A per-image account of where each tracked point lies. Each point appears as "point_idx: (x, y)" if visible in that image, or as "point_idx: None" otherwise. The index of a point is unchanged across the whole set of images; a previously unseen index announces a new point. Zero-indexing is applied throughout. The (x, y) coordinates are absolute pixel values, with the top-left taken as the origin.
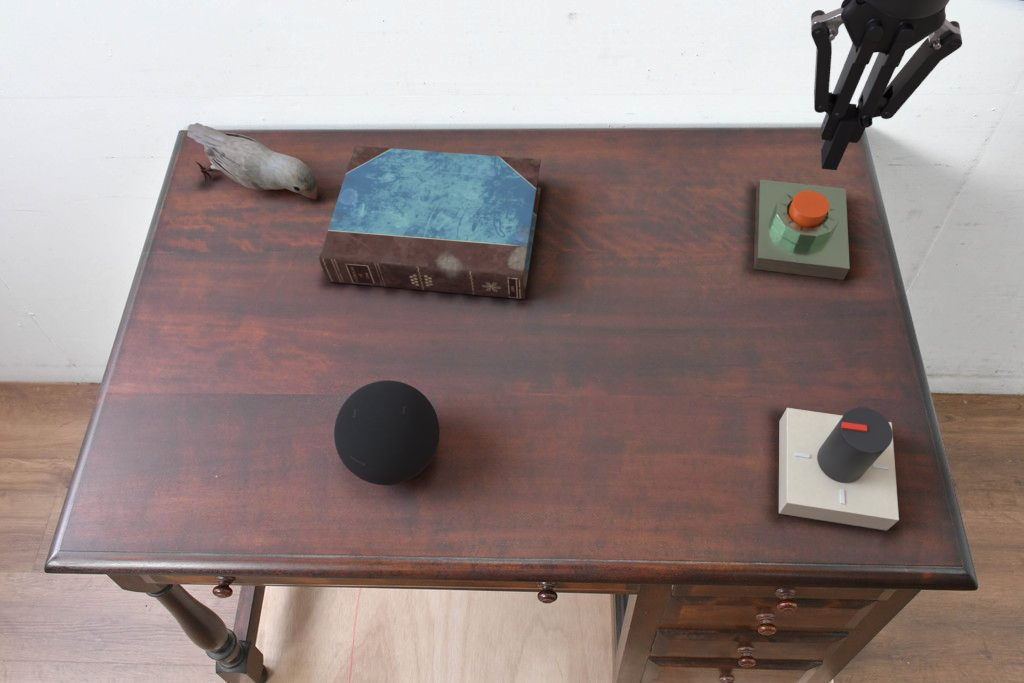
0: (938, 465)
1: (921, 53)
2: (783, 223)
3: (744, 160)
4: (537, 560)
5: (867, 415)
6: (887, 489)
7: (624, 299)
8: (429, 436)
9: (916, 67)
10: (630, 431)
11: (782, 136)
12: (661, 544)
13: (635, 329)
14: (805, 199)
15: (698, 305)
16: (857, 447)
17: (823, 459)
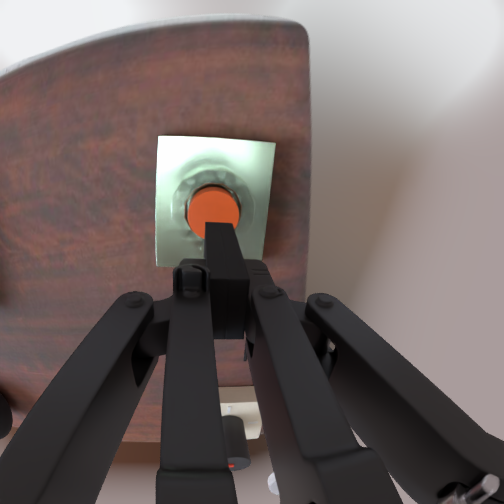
0: None
1: (422, 460)
2: (179, 235)
3: (151, 81)
4: None
5: (235, 459)
6: (255, 429)
7: (50, 302)
8: (4, 429)
9: (388, 459)
10: None
11: (208, 34)
12: (132, 436)
13: (68, 329)
14: (206, 209)
15: (110, 304)
16: None
17: None
